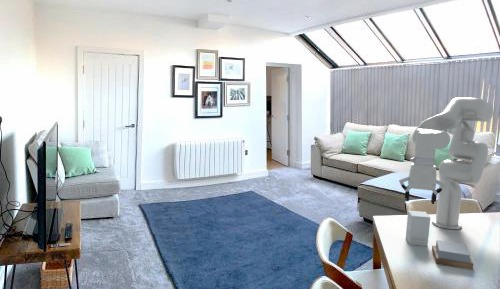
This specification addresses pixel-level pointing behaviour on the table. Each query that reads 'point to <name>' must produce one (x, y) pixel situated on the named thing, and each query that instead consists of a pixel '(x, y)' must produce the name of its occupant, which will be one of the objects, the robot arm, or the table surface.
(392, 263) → the table surface
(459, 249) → the slate grey slab
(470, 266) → the walnut base slab
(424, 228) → the supplement box
